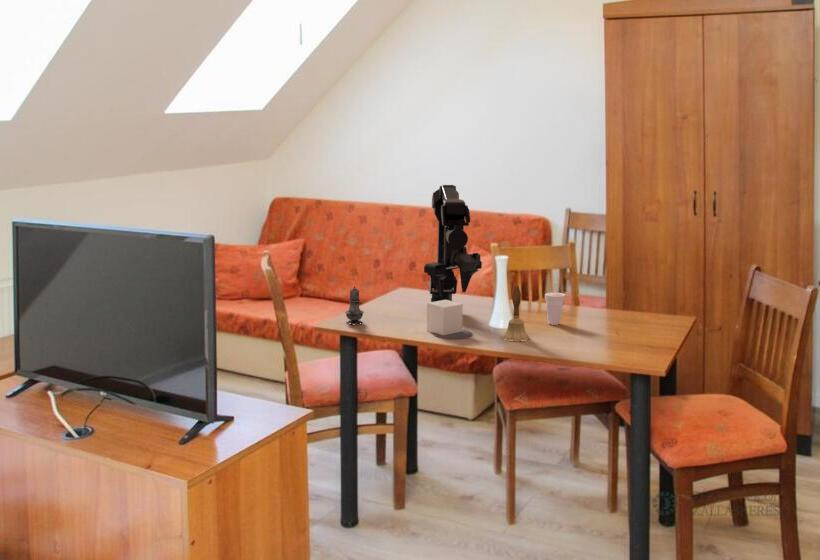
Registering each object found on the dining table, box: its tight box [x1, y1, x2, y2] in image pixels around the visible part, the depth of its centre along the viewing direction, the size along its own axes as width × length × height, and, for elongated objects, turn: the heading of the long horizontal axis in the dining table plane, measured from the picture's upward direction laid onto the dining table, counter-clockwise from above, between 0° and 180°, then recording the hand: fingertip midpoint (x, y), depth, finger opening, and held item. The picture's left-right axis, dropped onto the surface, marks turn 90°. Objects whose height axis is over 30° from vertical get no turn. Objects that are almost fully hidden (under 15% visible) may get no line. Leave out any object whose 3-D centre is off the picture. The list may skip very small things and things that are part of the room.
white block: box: [426, 300, 464, 335], centre depth 298 cm, size 8×8×9 cm
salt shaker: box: [344, 285, 365, 325], centre depth 307 cm, size 6×6×12 cm
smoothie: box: [544, 280, 566, 326], centre depth 308 cm, size 6×6×14 cm
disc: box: [432, 328, 474, 340], centre depth 296 cm, size 12×12×1 cm
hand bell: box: [501, 285, 530, 342], centre depth 291 cm, size 8×8×16 cm
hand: (452, 293), depth 295 cm, fingers open, 9 cm apart
